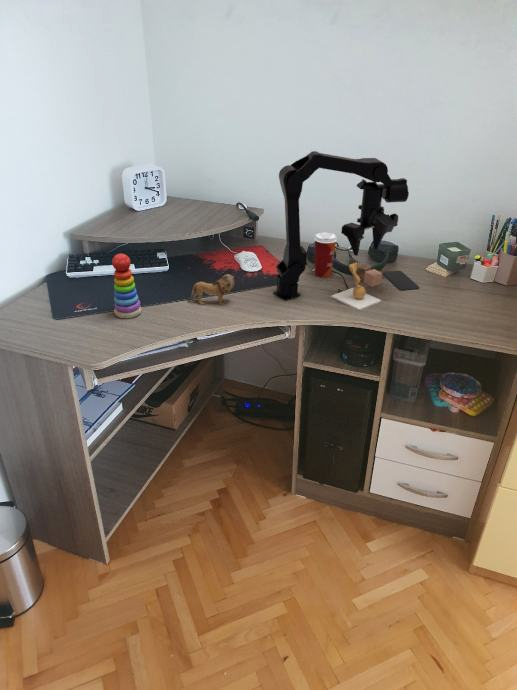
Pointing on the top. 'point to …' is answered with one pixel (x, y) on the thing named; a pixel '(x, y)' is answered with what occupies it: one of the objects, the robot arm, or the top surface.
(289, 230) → the robot arm
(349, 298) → the mat
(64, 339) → the top surface
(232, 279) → the lion figurine
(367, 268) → the walnut block
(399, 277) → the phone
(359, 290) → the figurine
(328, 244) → the paper cup
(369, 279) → the terracotta block
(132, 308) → the stacking toy
